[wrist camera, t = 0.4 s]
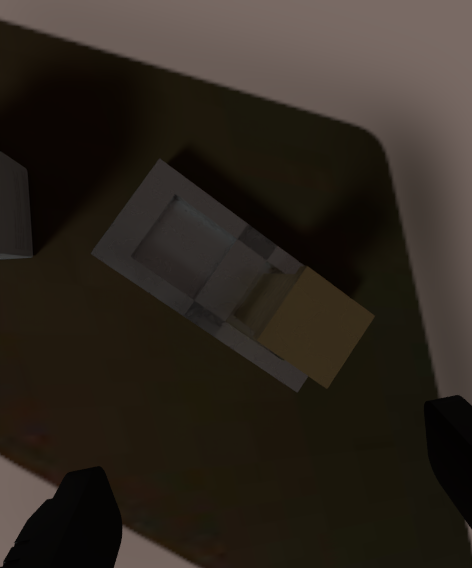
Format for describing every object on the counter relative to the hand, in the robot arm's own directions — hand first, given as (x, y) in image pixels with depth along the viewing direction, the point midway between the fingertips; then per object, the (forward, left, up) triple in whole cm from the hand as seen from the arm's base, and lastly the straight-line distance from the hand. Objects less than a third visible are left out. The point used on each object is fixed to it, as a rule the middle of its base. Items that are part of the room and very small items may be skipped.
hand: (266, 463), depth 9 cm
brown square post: (+1, +6, -23) cm, 24 cm away
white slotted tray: (-3, +4, -24) cm, 25 cm away
